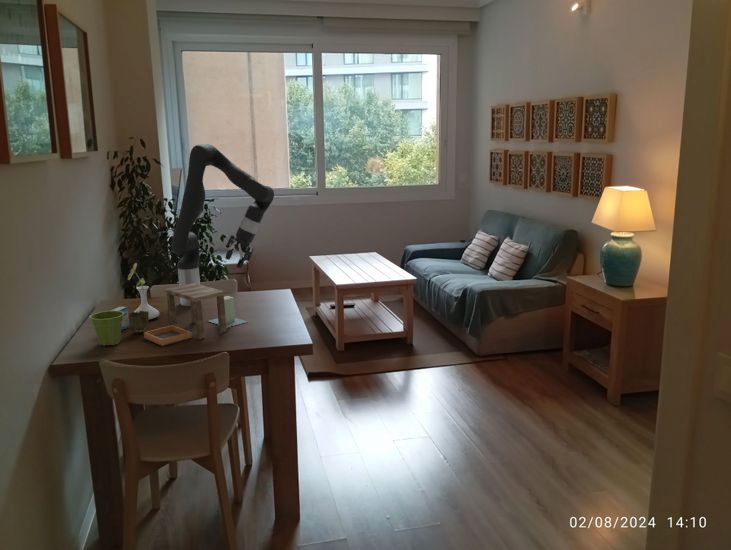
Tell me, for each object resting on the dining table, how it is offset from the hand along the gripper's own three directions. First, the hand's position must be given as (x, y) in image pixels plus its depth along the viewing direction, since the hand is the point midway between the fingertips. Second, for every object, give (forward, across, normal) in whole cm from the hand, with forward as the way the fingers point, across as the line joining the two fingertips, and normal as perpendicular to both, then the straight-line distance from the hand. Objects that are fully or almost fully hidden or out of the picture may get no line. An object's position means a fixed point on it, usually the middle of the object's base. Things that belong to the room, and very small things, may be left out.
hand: (232, 263), depth 256 cm
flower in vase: (+37, -15, -19) cm, 45 cm away
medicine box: (+40, -9, -32) cm, 53 cm away
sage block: (+21, +14, -3) cm, 25 cm away
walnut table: (+26, +15, -16) cm, 34 cm away
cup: (+36, 0, -30) cm, 47 cm away
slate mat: (+21, +15, -3) cm, 26 cm away
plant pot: (+40, +4, -43) cm, 59 cm away
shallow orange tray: (+30, +15, -28) cm, 44 cm away
